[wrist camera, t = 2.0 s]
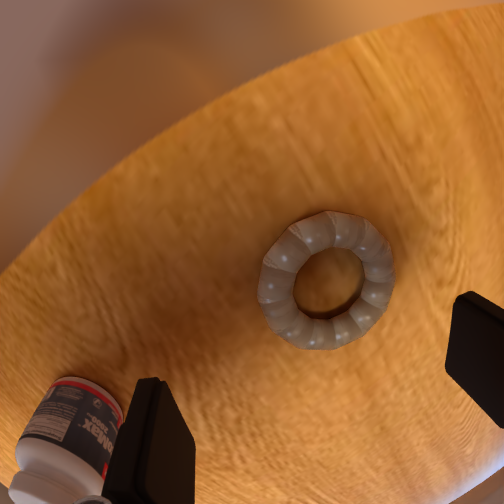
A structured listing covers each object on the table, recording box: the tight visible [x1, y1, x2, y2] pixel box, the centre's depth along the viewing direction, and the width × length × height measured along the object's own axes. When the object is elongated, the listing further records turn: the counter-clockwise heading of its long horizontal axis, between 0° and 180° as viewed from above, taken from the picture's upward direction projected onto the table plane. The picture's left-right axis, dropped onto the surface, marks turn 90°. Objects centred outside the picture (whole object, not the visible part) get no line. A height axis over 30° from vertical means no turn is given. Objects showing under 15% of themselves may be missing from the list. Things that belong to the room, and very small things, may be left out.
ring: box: [257, 211, 396, 350], centre depth 15 cm, size 7×7×2 cm
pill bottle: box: [8, 377, 123, 504], centre depth 12 cm, size 5×5×9 cm
